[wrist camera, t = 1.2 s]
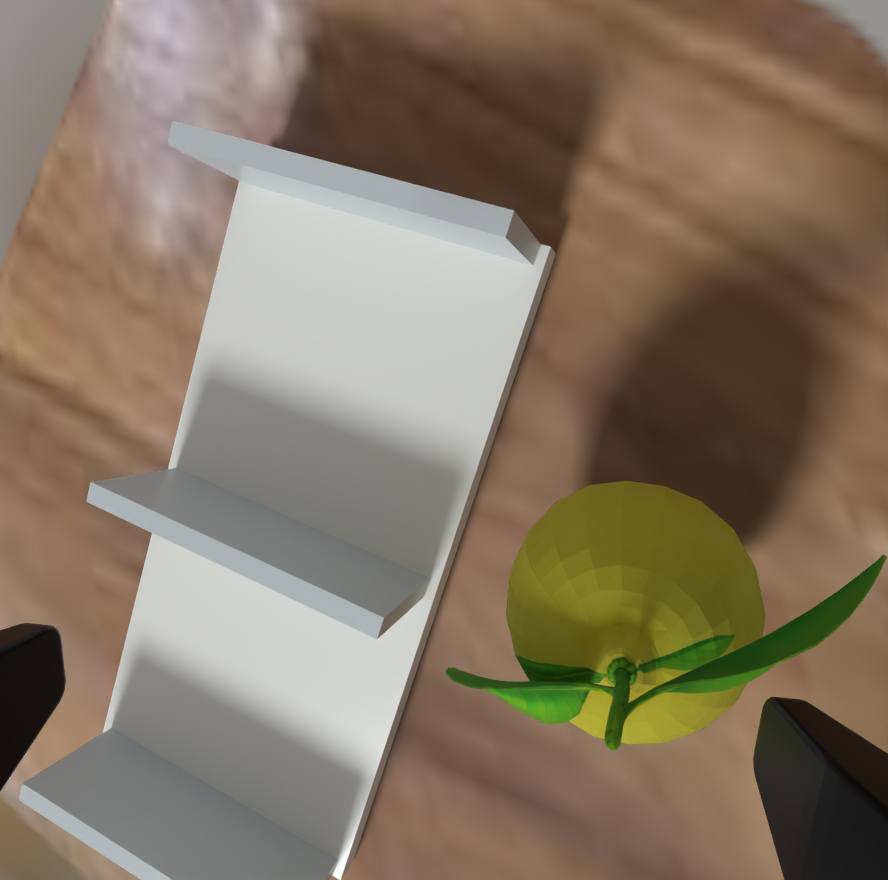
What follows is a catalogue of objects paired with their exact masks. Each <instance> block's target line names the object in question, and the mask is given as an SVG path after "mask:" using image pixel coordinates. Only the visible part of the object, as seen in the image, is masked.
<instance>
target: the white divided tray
mask: <svg viewBox="0 0 888 880" xmlns="http://www.w3.org/2000/svg"><path fill="white" fill-rule="evenodd" d="M168 145H170V146H172V147H174V148H176V149H178V150H180V151H182V152H184V153H186V154H188V155H190V156H192V157H194V158H196V159H198V160H200V161H202V162H204V163H206V164H207V165H209V166H211V167H213V168H215V169H217V170H219V171H221V172H223V173H225V174H227V175H229V176H231V177H233V178H235V179H237V180H239V184H238V188H237V192H236V196H235V200H234V204H233V208H232V212H231V216H230V220H229V224H228V228H227V232H226V236H225V240H224V244H223V248H222V253H221V257H220V261H219V265H218V269H217V273H216V277H215V281H214V285H213V289H212V293H211V297H210V301H209V305H208V309H207V313H206V317H205V321H204V325H203V329H202V333H201V338H200V342H199V346H198V350H197V354H196V358H195V362H194V366H193V370H192V374H191V378H190V382H189V386H188V390H187V394H186V398H185V402H184V406H183V410H182V414H181V418H180V423H179V427H178V431H177V435H176V439H175V443H174V447H173V451H172V455H171V459H170V463H169V467H168V469H167V470H161V471H155V472H149V473H143V474H137V475H131V476H124V477H118V478H112V479H106V480H100V481H94V482H91V483H90V488H89V492H88V497H87V501H86V502H88V503H90V504H92V505H94V506H97V507H99V508H101V509H103V510H105V511H107V512H109V513H111V514H113V515H116V516H118V517H120V518H122V519H124V520H126V521H128V522H130V523H132V524H134V525H137V526H139V527H141V528H143V529H145V530H147V531H149V532H151V533H152V536H151V540H150V544H149V548H148V552H147V556H146V560H145V564H144V568H143V572H142V576H141V580H140V584H139V588H138V592H137V597H136V601H135V605H134V609H133V613H132V617H131V621H130V625H129V629H128V633H127V637H126V641H125V645H124V649H123V653H122V657H121V661H120V665H119V669H118V673H117V677H116V682H115V686H114V690H113V694H112V698H111V702H110V706H109V710H108V714H107V718H106V722H105V726H104V730H103V733H102V734H101V735H99V736H98V737H96V738H94V739H93V740H91V741H90V742H88V743H86V744H85V745H83V746H82V747H80V748H78V749H77V750H75V751H74V752H72V753H70V754H69V755H67V756H66V757H64V758H62V759H61V760H59V761H58V762H56V763H54V764H53V765H51V766H50V767H48V768H46V769H45V770H43V771H42V772H40V773H38V774H37V775H35V776H34V777H32V778H30V779H29V780H27V781H26V782H24V783H22V788H21V792H20V797H19V800H20V801H21V802H23V803H24V804H26V805H27V806H29V807H30V808H32V809H33V810H35V811H36V812H38V813H39V814H41V815H43V816H44V817H46V818H47V819H49V820H50V821H52V822H53V823H55V824H56V825H58V826H59V827H61V828H62V829H64V830H66V831H67V832H69V833H70V834H72V835H73V836H75V837H76V838H78V839H79V840H81V841H82V842H84V843H85V844H87V845H89V846H90V847H92V848H93V849H95V850H96V851H98V852H99V853H101V854H102V855H104V856H105V857H107V858H108V859H110V860H111V861H113V862H115V863H116V864H118V865H119V866H121V867H122V868H124V869H125V870H127V871H128V872H130V873H131V874H133V875H134V876H136V877H138V878H139V879H141V880H330V878H331V877H332V875H333V876H334V877H336V878H338V879H339V880H341V879H342V877H343V876H344V874H345V872H346V871H347V869H348V868H349V866H350V865H351V863H352V861H353V860H354V857H355V854H356V851H357V849H358V846H359V843H360V840H361V837H362V834H363V831H364V828H365V825H366V822H367V819H368V816H369V813H370V810H371V807H372V804H373V801H374V798H375V795H376V792H377V789H378V786H379V783H380V780H381V777H382V774H383V771H384V768H385V765H386V762H387V759H388V756H389V753H390V750H391V747H392V744H393V741H394V738H395V735H396V732H397V729H398V726H399V723H400V720H401V717H402V714H403V711H404V708H405V705H406V702H407V699H408V696H409V693H410V690H411V687H412V684H413V681H414V678H415V675H416V672H417V669H418V666H419V663H420V660H421V657H422V654H423V651H424V648H425V645H426V642H427V639H428V636H429V633H430V630H431V627H432V624H433V621H434V618H435V615H436V612H437V609H438V606H439V603H440V600H441V597H442V594H443V591H444V588H445V585H446V582H447V579H448V576H449V573H450V570H451V567H452V564H453V561H454V558H455V555H456V552H457V549H458V546H459V543H460V540H461V537H462V534H463V531H464V528H465V525H466V522H467V519H468V516H469V513H470V510H471V507H472V504H473V501H474V498H475V495H476V492H477V489H478V486H479V483H480V480H481V477H482V474H483V471H484V468H485V465H486V462H487V459H488V456H489V453H490V450H491V447H492V444H493V441H494V438H495V435H496V432H497V429H498V426H499V423H500V420H501V417H502V414H503V411H504V408H505V405H506V402H507V399H508V396H509V393H510V390H511V387H512V384H513V381H514V378H515V375H516V372H517V369H518V366H519V363H520V360H521V357H522V354H523V351H524V348H525V345H526V342H527V339H528V336H529V333H530V330H531V327H532V324H533V321H534V318H535V315H536V312H537V309H538V306H539V303H540V300H541V297H542V294H543V291H544V288H545V285H546V282H547V280H548V277H549V274H550V271H551V268H552V265H553V262H554V259H555V256H556V253H555V252H554V251H553V249H552V248H551V247H550V246H546V245H542V244H540V243H539V242H538V240H537V239H536V238H535V237H534V235H533V234H532V233H531V231H530V230H529V229H528V228H527V226H526V225H525V224H524V222H523V221H522V220H521V219H520V217H519V216H518V215H517V214H516V212H515V211H514V210H510V209H507V208H503V207H499V206H495V205H491V204H488V203H484V202H480V201H476V200H472V199H469V198H465V197H461V196H457V195H453V194H450V193H446V192H442V191H438V190H434V189H431V188H427V187H423V186H419V185H415V184H412V183H408V182H404V181H400V180H396V179H393V178H389V177H385V176H381V175H377V174H374V173H370V172H366V171H362V170H358V169H355V168H351V167H347V166H343V165H339V164H336V163H332V162H328V161H324V160H320V159H317V158H313V157H309V156H305V155H301V154H298V153H294V152H290V151H286V150H282V149H279V148H275V147H271V146H267V145H264V144H260V143H256V142H252V141H248V140H245V139H241V138H237V137H233V136H229V135H226V134H222V133H218V132H214V131H210V130H207V129H203V128H199V127H195V126H191V125H188V124H184V123H180V122H176V121H173V122H172V126H171V130H170V135H169V139H168Z"/></svg>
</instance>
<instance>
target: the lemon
mask: <svg viewBox="0 0 888 880" xmlns="http://www.w3.org/2000/svg"><path fill="white" fill-rule="evenodd" d="M886 558H887V557H886V556H885V555H882V556H881V557H880V558H879V559H878V560H877V561H876V562H875V563H874V564H872V565H871V566H870V567H869V568H867V569H866V570H865V571H864V572H862V573H861V574H860V575H858V576H857V577H856V578H855V579H853V580H852V581H851V582H849V583H848V584H847V585H845V586H844V587H843V588H842V589H840V590H839V591H838V592H836V593H835V594H833V595H832V596H830V597H829V598H827V599H826V600H824V601H823V602H821V603H820V604H818V605H817V606H815V607H814V608H812V609H811V610H809V611H808V612H806V613H804V614H803V615H801V616H799V617H798V618H796V619H794V620H792V621H791V622H789V623H787V624H786V625H784V626H782V627H781V628H779V629H777V630H776V631H774V632H772V633H770V634H768V635H766V636H764V637H762V636H763V629H764V622H765V611H764V605H763V600H762V596H761V591H760V586H759V581H758V576H757V571H756V568H755V566H754V564H753V562H752V560H751V558H750V557H749V555H748V553H747V552H746V550H745V548H744V547H743V545H742V543H741V541H740V540H739V538H738V536H737V535H736V533H735V531H734V530H733V528H732V527H731V526H729V525H728V524H727V523H726V522H725V521H724V520H723V519H721V518H720V517H719V516H718V515H717V514H716V513H714V512H713V511H712V510H711V509H710V508H709V507H707V506H706V505H705V504H704V503H703V502H701V501H699V500H697V499H695V498H692V497H690V496H688V495H685V494H683V493H680V492H678V491H675V490H673V489H671V488H668V487H666V486H662V485H655V484H648V483H640V482H633V481H620V482H611V483H602V484H594V485H588V486H586V487H584V488H582V489H580V490H579V491H577V492H575V493H573V494H571V495H569V496H567V497H565V498H563V499H561V500H559V501H557V502H556V503H555V504H554V505H553V506H552V507H551V508H550V509H549V510H548V511H547V512H546V513H545V514H544V515H543V516H542V517H541V519H540V520H539V521H538V522H537V523H536V524H535V525H534V526H533V527H532V528H531V529H530V530H529V532H528V534H527V536H526V538H525V540H524V542H523V545H522V547H521V549H520V551H519V553H518V555H517V557H516V560H515V562H514V564H513V566H512V568H511V572H510V580H509V590H508V600H507V609H506V616H507V622H508V626H509V630H510V634H511V638H512V643H513V647H514V651H515V655H516V658H517V659H518V661H519V663H520V665H521V667H522V668H523V670H524V672H525V674H526V676H527V677H528V679H529V681H530V682H507V681H498V680H492V679H487V678H483V677H479V676H476V675H473V674H470V673H466V672H464V671H461V670H458V669H456V668H454V667H453V668H448V669H447V670H446V672H445V673H446V674H447V675H448V676H449V677H450V678H451V679H452V680H453V681H454V682H457V683H459V684H462V685H465V686H467V687H470V688H477V689H486V690H488V691H489V692H491V693H493V694H494V695H496V696H497V697H499V698H500V699H502V700H503V701H505V702H507V703H508V704H510V705H511V706H513V707H515V708H516V709H518V710H519V711H521V712H523V713H524V714H526V715H528V716H530V717H532V718H534V719H536V720H538V721H541V722H543V723H547V724H554V723H564V722H568V721H570V722H571V723H573V724H575V725H576V726H578V727H579V728H581V729H583V730H584V731H586V732H587V733H589V734H591V735H592V736H594V737H598V738H603V739H605V743H606V745H607V747H608V748H610V749H611V750H616V749H618V747H619V746H620V745H621V742H622V743H627V744H643V743H666V742H668V741H671V740H674V739H676V738H679V737H682V736H685V735H687V734H690V733H693V732H696V731H698V730H701V729H704V728H705V727H707V726H708V725H709V724H710V723H712V722H713V721H714V720H715V719H717V718H718V717H719V716H720V715H722V714H723V713H724V712H725V711H726V710H728V709H729V708H730V707H731V706H733V705H734V704H735V702H736V701H737V700H738V698H739V696H740V695H741V693H742V691H743V689H744V688H745V686H746V684H747V682H749V681H752V680H753V679H755V678H757V677H758V676H760V675H762V674H763V673H765V672H766V671H768V670H769V669H770V668H772V667H773V666H774V665H776V664H778V663H780V662H782V661H785V660H787V659H789V658H791V657H793V656H796V655H798V654H800V653H802V652H804V651H807V650H809V649H811V648H813V647H815V646H817V645H818V644H819V643H820V642H822V641H823V640H824V639H825V638H827V637H828V636H829V635H830V634H831V633H832V632H834V631H835V630H836V629H837V628H838V627H839V626H840V625H841V624H842V623H843V622H844V621H845V620H847V619H848V618H849V617H850V615H851V614H852V613H853V612H854V610H855V609H856V608H857V607H858V605H859V604H860V603H861V602H862V600H863V599H864V598H865V596H866V595H867V593H868V592H869V590H870V589H871V587H872V585H873V584H874V582H875V580H876V578H877V576H878V575H879V573H880V571H881V569H882V566H883V564H884V562H885V560H886Z"/></svg>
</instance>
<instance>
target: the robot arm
mask: <svg viewBox="0 0 888 880" xmlns="http://www.w3.org/2000/svg"><path fill="white" fill-rule="evenodd" d="M65 683H66V678H65V669H64V660H63V651H62V642H61V636H60V633H59V631H58V630H57V629H56V628H55V627H53V626H50V625H41V624H31V623H24V624H19V625H16V626H13V627H10V628H6V629H3V630H0V791H1V790H2V788H3V787H4V785H5V784H6V782H7V780H8V779H9V777H10V776H11V774H12V773H13V771H14V770H15V768H16V767H17V765H18V764H19V762H20V761H21V759H22V758H23V756H24V755H25V753H26V752H27V750H28V749H29V747H30V746H31V744H32V743H33V741H34V740H35V738H36V737H37V735H38V734H39V732H40V731H41V729H42V728H43V726H44V725H45V723H46V722H47V720H48V719H49V717H50V716H51V714H52V713H53V711H54V710H55V708H56V707H57V705H58V704H59V702H60V700H61V698H62V696H63V693H64V690H65ZM753 764H754V773H755V778H756V781H757V785H758V788H759V792H760V795H761V799H762V802H763V806H764V809H765V813H766V817H767V820H768V824H769V827H770V831H771V834H772V838H773V841H774V845H775V848H776V852H777V855H778V859H779V862H780V866H781V869H782V873H783V876H784V880H888V754H887V753H886V752H884V751H883V750H881V749H880V748H878V747H876V746H875V745H873V744H872V743H870V742H869V741H867V740H866V739H864V738H862V737H861V736H859V735H858V734H856V733H855V732H853V731H852V730H850V729H848V728H847V727H845V726H844V725H842V724H841V723H839V722H838V721H836V720H835V719H833V718H831V717H830V716H828V715H827V714H825V713H824V712H822V711H821V710H819V709H817V708H816V707H814V706H813V705H811V704H810V703H808V702H806V701H804V700H800V699H790V698H780V697H771V698H769V699H768V700H766V702H765V704H764V706H763V709H762V714H761V719H760V724H759V730H758V735H757V740H756V745H755V750H754V758H753Z"/></svg>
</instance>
